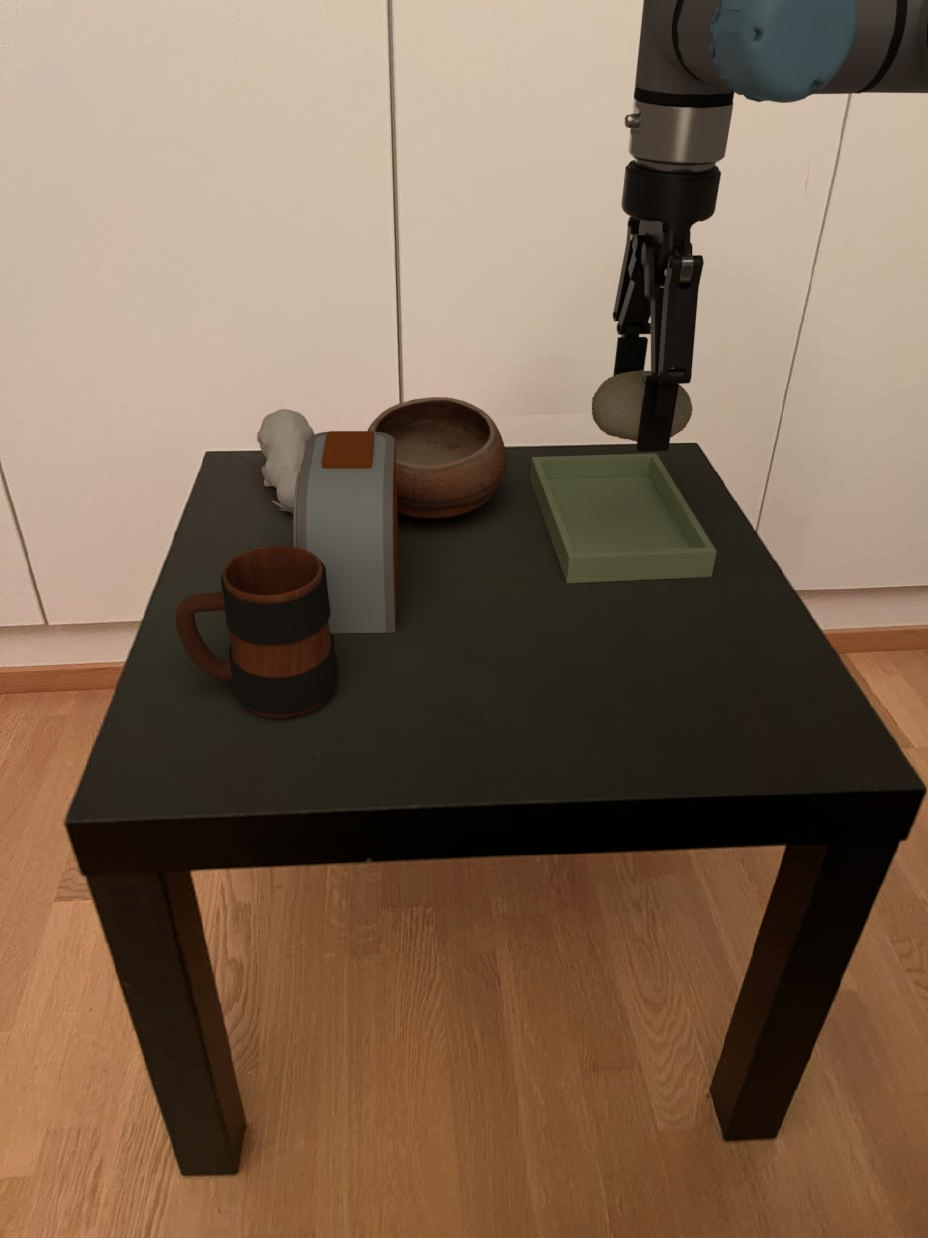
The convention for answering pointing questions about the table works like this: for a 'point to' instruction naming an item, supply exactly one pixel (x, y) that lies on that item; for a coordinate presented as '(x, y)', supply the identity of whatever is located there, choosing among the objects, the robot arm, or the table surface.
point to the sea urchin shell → (631, 406)
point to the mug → (269, 631)
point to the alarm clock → (351, 525)
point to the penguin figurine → (283, 452)
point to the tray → (619, 519)
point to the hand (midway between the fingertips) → (637, 425)
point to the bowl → (443, 456)
